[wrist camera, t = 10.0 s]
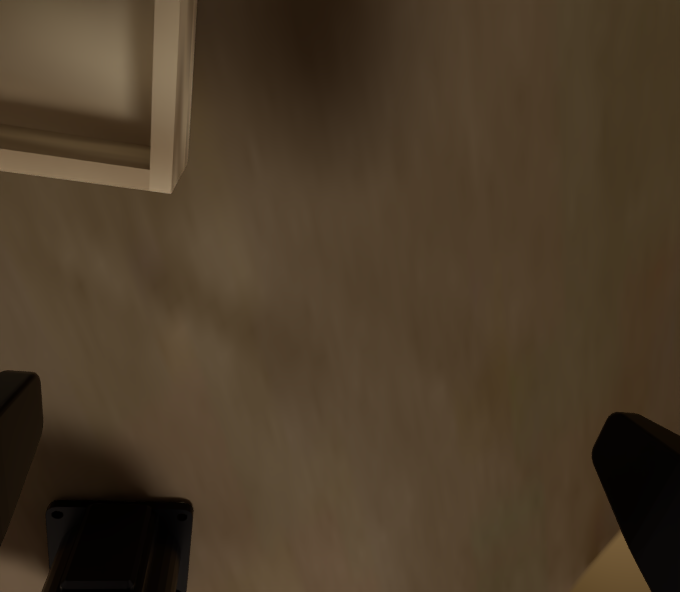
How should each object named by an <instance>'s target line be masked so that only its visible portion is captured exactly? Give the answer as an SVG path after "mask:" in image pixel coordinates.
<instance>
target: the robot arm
mask: <svg viewBox="0 0 680 592" xmlns="http://www.w3.org/2000/svg"><path fill="white" fill-rule="evenodd" d="M42 428H43V410H42V395H41V382H40V378H39V376H38V375H37V374H36V373H35V372H25V371H11V370H6V371H2V372H0V545H1V543H2V541H3V539H4V536H5V534H6V531H7V528H8V526H9V523H10V520H11V518H12V515H13V512H14V509H15V507H16V504H17V501H18V498H19V495H20V493H21V490H22V487H23V484H24V482H25V479H26V476H27V473H28V470H29V468H30V465H31V462H32V459H33V457H34V454H35V451H36V448H37V445H38V443H39V440H40V437H41V433H42ZM592 461H593V465H594V467H595V469H596V472H597V474H598V477H599V479H600V481H601V484H602V486H603V489H604V491H605V493H606V496H607V498H608V501H609V503H610V505H611V508H612V510H613V512H614V515H615V517H616V520H617V522H618V524H619V527H620V529H621V532H622V534H623V536H624V538H625V541H626V543H627V545H628V547H629V549H630V551H631V553H632V555H633V557H634V559H635V561H636V563H637V565H638V567H639V569H640V571H641V573H642V575H643V577H644V579H645V581H646V582H647V584H648V586H649V588H650V590H651V592H680V436H679V435H677V434H675V433H673V432H672V431H670V430H668V429H666V428H664V427H662V426H660V425H658V424H656V423H655V422H653V421H651V420H649V419H647V418H645V417H643V416H641V415H639V414H636V413H625V412H615V413H612V414H611V415H610V416H609V417H608V418H607V420H606V422H605V424H604V426H603V428H602V430H601V432H600V434H599V436H598V438H597V440H596V442H595V444H594V447H593V449H592ZM58 511H61V512H58ZM193 512H194V510H193V507H192V506H191V505H189V504H186V503H161V502H120V501H79V500H56V501H53V502H51V504H50V505H49V507H48V509H47V511H46V526H47V540H48V554H49V568H50V571H49V574H48V576H47V579H46V581H45V584H44V587H43V589H42V592H186V590H187V580H188V569H189V557H190V546H191V535H192V523H193ZM181 513H183V514H181Z"/></svg>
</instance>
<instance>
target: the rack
mask: <svg viewBox="0 0 680 592" xmlns="http://www.w3.org/2000/svg"><path fill="white" fill-rule="evenodd" d="M196 16H197V0H0V171H6V172H14V173H21V174H29V175H36V176H43V177H51V178H58V179H66V180H73V181H80V182H88V183H95V184H103V185H110V186H117V187H125V188H132V189H140V190H147V191H154V192H162V193H169V194H171V193H172V191H173V189H174V187H175V186H176V184H177V182H178V180H179V178H180V176H181V175H182V173H183V171H184V169H185V167H186V165H187V164H188V151H189V134H190V117H191V100H192V84H193V67H194V50H195V33H196Z"/></svg>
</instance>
